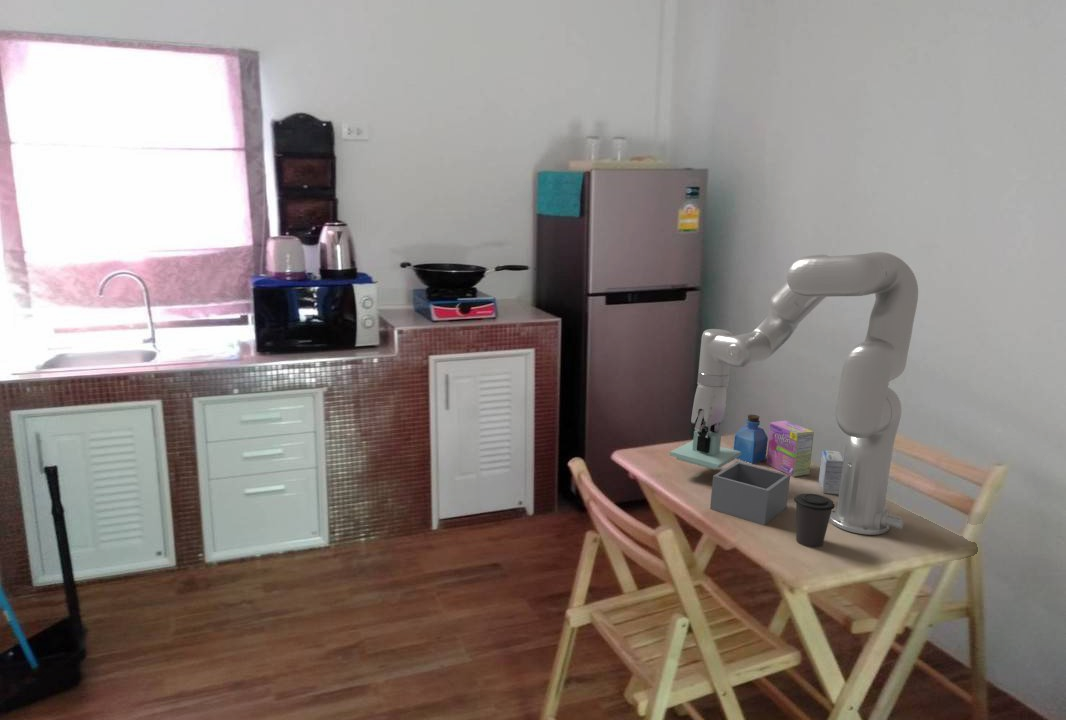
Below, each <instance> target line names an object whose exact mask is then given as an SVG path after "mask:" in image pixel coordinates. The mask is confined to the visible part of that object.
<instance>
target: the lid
mask: <svg viewBox="0 0 1066 720" xmlns="http://www.w3.org/2000/svg"><path fill="white" fill-rule="evenodd" d="M697 433H698V432H697V431H696V430H694V431H693V438H692V440H691V441H689V442H687V443H685V444H682V445H680V446H679V447H676V448H675V449H672V450H670V451H669V456H670V457H674V458H676V460H678V461H682V462H686V463H689V464H693V465H697V466H699V467H702V468H703V467H704V468H707V469H710V470H718V469H720V468H722V467H723V466H726V465H727V464H729V463H731V462H732V461H735V460H736V458H737V457H739V456H741V452H740V451H737V450H734V448H733V449H732V448H728V447H724V446H721V440H722V434H721V433H719V432H718V433H714V432H710V435H709V438H711V439H710V449H709V453H704V452H701V451H697V441H698V436H697Z"/></svg>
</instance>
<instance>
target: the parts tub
mask: <svg viewBox="0 0 1066 720" xmlns="http://www.w3.org/2000/svg"><path fill="white" fill-rule="evenodd" d="M790 480H791V475H788V474H786V473H784V472H781V471H780V472H779V471H776V470H772V469H771V470H770V469H768V468H763V467H759V466H756V465H753V464H750V463H746V462H740V461H736V462H734V463H732V464H730V465H729V466H727V467H726V468H724V469H722V470H720V471H719V472H717V473H716V474H714V475H713V476H712V485H711V493H710V494H711V496H710V507H709V509H710V510H712V511H713V510H714V511H716V512H720V513H723V514H725V515H730V516H733V517H737V518H739V519H743V520H747V521H750V522H753V523H756V524H759V525H763V526H765V525H766V524H768V523H769V522H771V521H772V520H773V519H774V518H775V517H777V516H778V515H779V514H780V513H782V512H783V511H784V510H786V509H787V505H788V497H789V488H790Z"/></svg>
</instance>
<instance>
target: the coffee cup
mask: <svg viewBox="0 0 1066 720" xmlns="http://www.w3.org/2000/svg"><path fill="white" fill-rule="evenodd" d="M793 502H794V503H795V509H796V510H795V515H796V517H795V527H796V528H795V529H796V530H795V531H796V533H795V535H796V536H795V537H796V538H795V540H796V542H797V543H798V544H800V545H801V546H804V547H807V548H820V547H822V546H823V544H824V541H825V537H826V533H827V529H828V526H829V521H830V520H829V519H830V515H831V511H832V510H833V509H835V507H836V506H835V502H834V501H833V500H832V499H831V498H829V497H827V496H824V495H820V494H817V493H816V494H815V493H802V494H801V493H799V494H797V495H796V496H795V497H794V499H793Z"/></svg>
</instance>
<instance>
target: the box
mask: <svg viewBox="0 0 1066 720" xmlns="http://www.w3.org/2000/svg"><path fill="white" fill-rule="evenodd" d="M768 433H769V434H768V442H767V452H766V465H767V466H770V467H772V468H773V469H776V470H778V471H780V472H781V473H784V474H787V475H790V477H792V478H795V477H801V476H806V475H807V476H808V475H810V472H811V462H812V453H813V448H814V447H813V445H814V438H815V437H814V435H815V431H813V430H810V429H808V428H806V427H804V426H800V425H798V424H796V423H793V422H790V421H788V420H786V419H785V420H777V421H773V422H772V421H771V422H769V432H768Z"/></svg>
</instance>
